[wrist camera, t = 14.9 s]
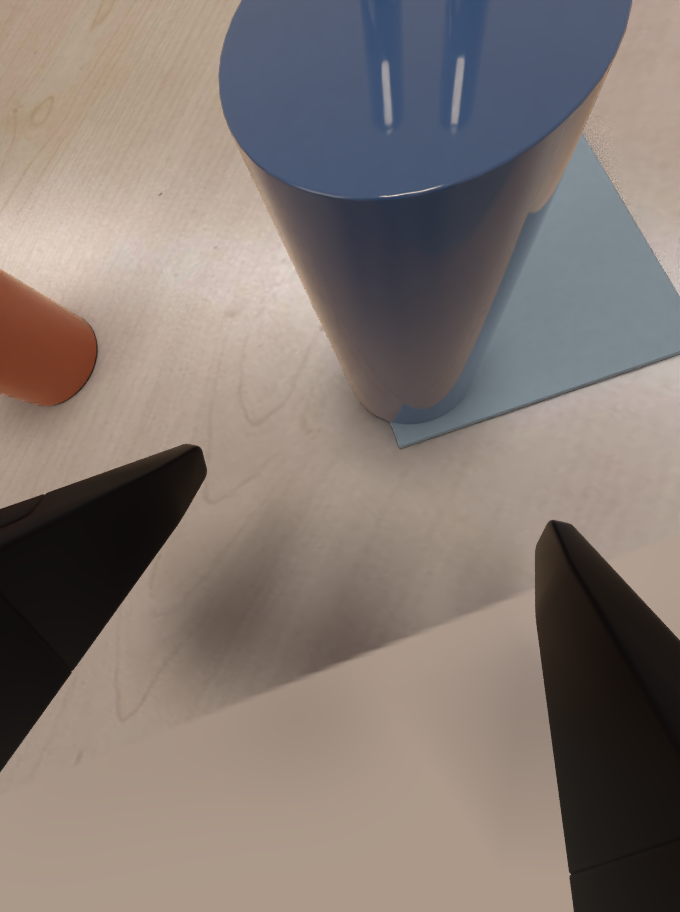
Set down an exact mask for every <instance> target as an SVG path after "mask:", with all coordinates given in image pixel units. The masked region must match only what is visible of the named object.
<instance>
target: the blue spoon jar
mask: <svg viewBox="0 0 680 912" xmlns="http://www.w3.org/2000/svg"><path fill="white" fill-rule="evenodd" d="M631 7H632V0H241V2H240V4H239V6H238V8H237V10H236V12H235V14H234V16H233V18H232V20H231V23H230V26H229V28H228V31H227V34H226V36H225V40H224V44H223V48H222V52H221V57H220V67H219V94H220V100H221V105H222V109H223V114H224V117H225V120H226V122H227V125H228V127H229V130H230V132H231V134H232V136H233V138H234V141H235V143H236V145H237V147H238V149H239V151H240V153H241V155H242V157H243V160H244V162H245V164H246V166H247V168H248V170H249V172H250V174H251V176H252V179H253V181H254V183H255V185H256V187H257V189H258V191H259V193H260V196H261V198H262V200H263V202H264V204H265V206H266V208H267V210H268V212H269V215H270V217H271V219H272V221H273V223H274V225H275V227H276V229H277V231H278V234H279V236H280V238H281V240H282V242H283V244H284V246H285V248H286V251H287V253H288V255H289V257H290V259H291V261H292V263H293V265H294V267H295V270H296V272H297V274H298V276H299V278H300V280H301V282H302V284H303V286H304V289H305V291H306V293H307V295H308V297H309V299H310V301H311V303H312V306H313V308H314V310H315V312H316V314H317V316H318V318H319V320H320V322H321V325H322V327H323V329H324V331H325V333H326V335H327V337H328V339H329V341H330V344H331V346H332V348H333V350H334V352H335V354H336V356H337V358H338V361H339V363H340V365H341V367H342V369H343V371H344V373H345V375H346V377H347V380H348V382H349V384H350V386H351V388H352V390H353V392H354V394H355V396H356V397H357V399H358V400H359V401H360V403H361V404H362V405H363V406H364V407H365V408H366V409H367V410H369V411H370V412H371V413H373V414H374V415H376V416H378V417H380V418H381V419H384V420H387V421H389V422H394V423H398V424H419V423H425V422H428V421H432V420H435V419H437V418H439V417H441V416H443V415H445V414H447V413H448V412H450V411H451V410H452V409H454V408H455V407H456V406H457V405H458V404H459V403H460V402H461V401H462V400H463V399H464V397H465V396H466V395H467V393H468V392H469V390H470V388H471V386H472V384H473V382H474V380H475V377H476V375H477V373H478V370H479V368H480V366H481V363H482V361H483V359H484V357H485V354H486V352H487V350H488V347H489V345H490V343H491V341H492V338H493V336H494V334H495V331H496V329H497V327H498V324H499V322H500V320H501V318H502V315H503V313H504V311H505V308H506V306H507V304H508V302H509V299H510V297H511V295H512V292H513V290H514V288H515V285H516V283H517V281H518V279H519V276H520V274H521V272H522V269H523V267H524V265H525V263H526V260H527V258H528V256H529V253H530V251H531V249H532V246H533V244H534V242H535V240H536V237H537V235H538V233H539V230H540V228H541V226H542V224H543V221H544V219H545V217H546V214H547V212H548V210H549V207H550V205H551V203H552V201H553V198H554V196H555V194H556V191H557V189H558V187H559V185H560V182H561V180H562V178H563V175H564V173H565V171H566V168H567V166H568V164H569V162H570V159H571V157H572V155H573V152H574V150H575V148H576V146H577V143H578V141H579V139H580V136H581V134H582V132H583V129H584V127H585V125H586V123H587V120H588V118H589V116H590V113H591V111H592V109H593V106H594V104H595V102H596V100H597V97H598V95H599V93H600V90H601V88H602V86H603V84H604V81H605V79H606V77H607V74H608V72H609V70H610V67H611V65H612V63H613V61H614V58H615V56H616V54H617V51H618V49H619V46H620V44H621V41H622V39H623V37H624V34H625V32H626V28H627V24H628V20H629V15H630V11H631Z"/></svg>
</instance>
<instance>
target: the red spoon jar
mask: <svg viewBox="0 0 680 912" xmlns="http://www.w3.org/2000/svg"><path fill="white" fill-rule="evenodd" d="M96 350H97V346H96V339H95V335H94V333H93V330H92V329H91V327H90V325H89V324H88V323H87V322H86V321H85V320H84V319H83V318H81V317H79V316H78V315H76V314H74V313H73V312H71V311H69V310H68V309H66V308H64V307H63V306H61V305H59V304H58V303H56V302H55V301H53V300H51V299H50V298H48V297H46V296H45V295H43V294H41V293H40V292H38V291H36V290H35V289H33V288H31V287H30V286H28V285H27V284H25V283H23V282H22V281H20V280H18V279H17V278H15V277H13V276H12V275H10V274H8V273H7V272H5V271H3V270H2V269H0V394H1V395H5V396H8V397H11V398H15V399H18V400H21V401H24V402H28V403H31V404H34V405H38V406H51V405H56V404H59V403H61V402H63V401H66V400H67V399H69V398H70V397H72V396H73V395H74V394H75V393H77V392H78V391H79V390H80V388H81V387H82V386H83V385H84V384H85V382H86V381H87V379H88V377H89V376H90V374H91V372H92V369H93V366H94V363H95V359H96Z"/></svg>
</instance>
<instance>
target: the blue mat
mask: <svg viewBox="0 0 680 912" xmlns="http://www.w3.org/2000/svg"><path fill="white" fill-rule="evenodd" d="M678 354H680V296H679V295H678V293H677V291H676V290H675V288H674V286H673V285H672V283H671V281H670V280H669V278H668V276H667V274H666V273H665V271H664V269H663V268H662V266H661V264H660V263H659V261H658V259H657V258H656V256H655V254H654V253H653V251H652V249H651V248H650V246H649V244H648V243H647V241H646V239H645V237H644V236H643V234H642V232H641V231H640V229H639V227H638V226H637V224H636V222H635V221H634V219H633V217H632V216H631V214H630V212H629V211H628V209H627V207H626V206H625V204H624V202H623V200H622V199H621V197H620V195H619V194H618V192H617V190H616V189H615V187H614V185H613V184H612V182H611V180H610V179H609V177H608V175H607V174H606V172H605V170H604V169H603V167H602V165H601V163H600V162H599V160H598V158H597V157H596V155H595V153H594V152H593V150H592V148H591V147H590V145H589V143H588V142H587V140H586V138H585V137H584V135H583V133H582V134H581V136H580V139H579V141H578V143H577V146H576V148H575V150H574V152H573V155H572V157H571V159H570V162H569V164H568V166H567V168H566V171H565V173H564V175H563V178H562V180H561V182H560V185H559V187H558V189H557V191H556V194H555V196H554V198H553V201H552V203H551V205H550V207H549V210H548V212H547V214H546V217H545V219H544V221H543V224H542V226H541V228H540V230H539V233H538V235H537V237H536V240H535V242H534V244H533V246H532V249H531V251H530V253H529V256H528V258H527V260H526V263H525V265H524V267H523V269H522V272H521V274H520V276H519V279H518V281H517V283H516V285H515V288H514V290H513V292H512V295H511V297H510V299H509V302H508V304H507V306H506V308H505V311H504V313H503V315H502V318H501V320H500V322H499V324H498V327H497V329H496V331H495V334H494V336H493V338H492V341H491V343H490V345H489V347H488V350H487V352H486V354H485V357H484V359H483V361H482V363H481V366H480V368H479V370H478V373H477V375H476V377H475V380H474V382H473V384H472V386H471V388H470V390H469V392H468V393H467V395H466V396H465V397H464V399H463V400H462V401H461V402H460V403H459V404H458V405H457V406H456V407H455V408H454V409H452V410H451V411H450V412H448V413H447V414H445V415H443V416H441V417H439V418H437V419H435V420H432V421H428V422H425V423H419V424H398V423H394V422H390V423H391V426H392V429H393V431H394V434H395V437H396V440H397V443H398V446H399V448H400V449H402V448H405V447H408V446H410V445H413V444H416V443H419V442H422V441H425V440H428V439H431V438H434V437H437V436H440V435H443V434H446V433H449V432H452V431H455V430H458V429H461V428H463V427H466V426H469V425H472V424H475V423H478V422H481V421H484V420H487V419H490V418H493V417H496V416H499V415H502V414H505V413H508V412H511V411H514V410H517V409H519V408H522V407H525V406H528V405H531V404H534V403H537V402H540V401H543V400H546V399H549V398H552V397H555V396H558V395H561V394H564V393H567V392H570V391H572V390H575V389H578V388H581V387H584V386H587V385H590V384H593V383H596V382H599V381H602V380H605V379H608V378H611V377H614V376H617V375H620V374H623V373H625V372H628V371H631V370H634V369H637V368H640V367H643V366H646V365H649V364H652V363H655V362H658V361H661V360H664V359H667V358H670V357H673V356H676V355H678Z"/></svg>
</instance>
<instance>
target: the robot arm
mask: <svg viewBox="0 0 680 912" xmlns="http://www.w3.org/2000/svg"><path fill="white" fill-rule="evenodd" d="M206 474H207V468H206V464H205V460H204V456H203V452H202V449H201V448H200V447H199V446H196V445H191V444H183V445H180V446H178V447H175V448H172V449H169V450H166V451H163V452H161V453H158V454H155V455H152V456H149V457H147V458H144V459H141V460H138V461H135V462H133V463H130V464H127V465H124V466H121V467H118V468H116V469H113V470H110V471H107V472H104V473H102V474H99V475H96V476H93V477H90V478H88V479H85V480H82V481H79V482H76V483H73V484H71V485H68V486H65V487H62V488H59V489H57V490H54V491H51V492H48V493H46V494H45V495H44V494H42V495H39V496H37V497H34V498H31V499H28V500H25V501H22V502H20V503H17V504H14V505H11V506H8V507H5V508H2V509H0V772H1V770H2V769H3V768H4V766H5V765H6V764H7V762H8V761H9V759H10V758H11V757H12V755H13V754H14V752H15V751H16V750H17V748H18V747H19V745H20V744H21V743H22V741H23V740H24V738H25V737H26V736H27V734H28V733H29V731H30V730H31V729H32V727H33V726H34V725H35V723H36V722H37V720H38V719H39V718H40V716H41V715H42V713H43V712H44V711H45V709H46V708H47V706H48V705H49V704H50V702H51V701H52V699H53V698H54V697H55V695H56V694H57V692H58V691H59V690H60V688H61V687H62V686H63V684H64V683H65V681H66V680H67V679H68V677H69V676H70V674H71V673H72V672H71V671H73V670H74V668H75V667H76V666H77V664H78V663H79V662H80V660H81V659H82V657H83V656H84V655H85V653H86V652H87V650H88V649H89V648H90V646H91V645H92V643H93V642H94V641H95V639H96V638H97V637H98V635H99V634H100V632H101V631H102V630H103V628H104V627H105V625H106V624H107V623H108V621H109V620H110V618H111V617H112V616H113V614H114V613H115V611H116V610H117V609H118V607H119V606H120V605H121V603H122V602H123V600H124V599H125V598H126V596H127V595H128V593H129V592H130V591H131V589H132V588H133V586H134V585H135V584H136V582H137V581H138V579H139V578H140V577H141V575H142V574H143V573H144V571H145V570H146V568H147V567H148V566H149V564H150V563H151V561H152V560H153V559H154V557H155V556H156V554H157V553H158V552H159V550H160V549H161V547H162V546H163V545H164V543H165V542H166V541H167V539H168V538H169V536H170V535H171V534H172V532H173V531H174V529H175V528H176V527H177V525H178V524H179V522H180V521H181V519H182V517H183V516H184V514H185V512H186V511H187V509H188V507H189V505H190V504H191V502H192V500H193V498H194V497H195V495H196V493H197V491H198V490H199V488H200V486H201V484H202V483H203V481H204V479H205V477H206ZM535 612H536V624H537V632H538V640H539V647H540V655H541V662H542V670H543V678H544V685H545V693H546V700H547V708H548V716H549V723H550V730H551V738H552V746H553V753H554V760H555V768H556V776H557V784H558V791H559V798H560V807H561V814H562V822H563V829H564V837H565V845H566V852H567V860H568V867H569V872H570V874H571V875H570V884H571V892H572V900H573V907H574V912H680V640H679V639H678V638H677V637H676V636H675V635H674V634H673V633H672V631H671V630H670V629H669V628H668V627H667V626H666V625H665V624H664V623H663V622H662V621H661V620H660V619H659V617H657V615H656V614H655V613H654V612H653V611H652V610H651V609H650V608H649V607H648V606H647V605H646V604H645V602H644V601H643V600H642V599H641V598H640V597H639V596H638V595H637V594H636V593H635V592H634V591H633V590H632V589H631V587H630V586H629V585H628V584H627V583H626V582H625V581H624V580H623V579H622V578H621V577H620V576H619V575H618V573H617V572H616V571H615V570H614V569H613V568H612V567H611V566H610V565H609V564H608V563H607V562H606V561H605V560H604V558H603V557H602V556H601V555H600V554H599V553H598V552H597V551H596V550H595V549H594V548H593V547H592V546H591V544H590V543H589V542H588V541H587V540H586V539H585V538H584V537H583V536H582V535H581V534H580V533H579V532H578V531H577V529H576V528H575V527H574V526H573V525H571V524H569V523H566V522H561V521H556V520H551V521H549V522H548V523H547V525H546V527H545V529H544V531H543V533H542V535H541V537H540V539H539V541H538V543H537V545H536V550H535Z"/></svg>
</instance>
